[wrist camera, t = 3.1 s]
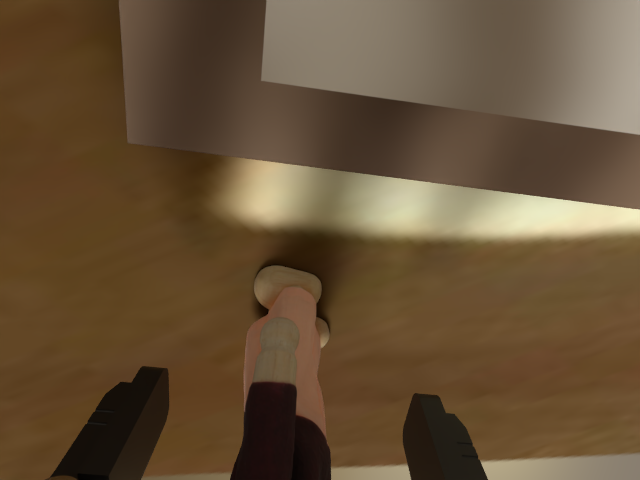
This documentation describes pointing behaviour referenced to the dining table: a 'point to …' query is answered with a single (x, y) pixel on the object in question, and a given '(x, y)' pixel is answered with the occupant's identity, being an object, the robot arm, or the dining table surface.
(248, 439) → the grandmother figurine
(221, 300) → the dining table surface
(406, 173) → the plinth
